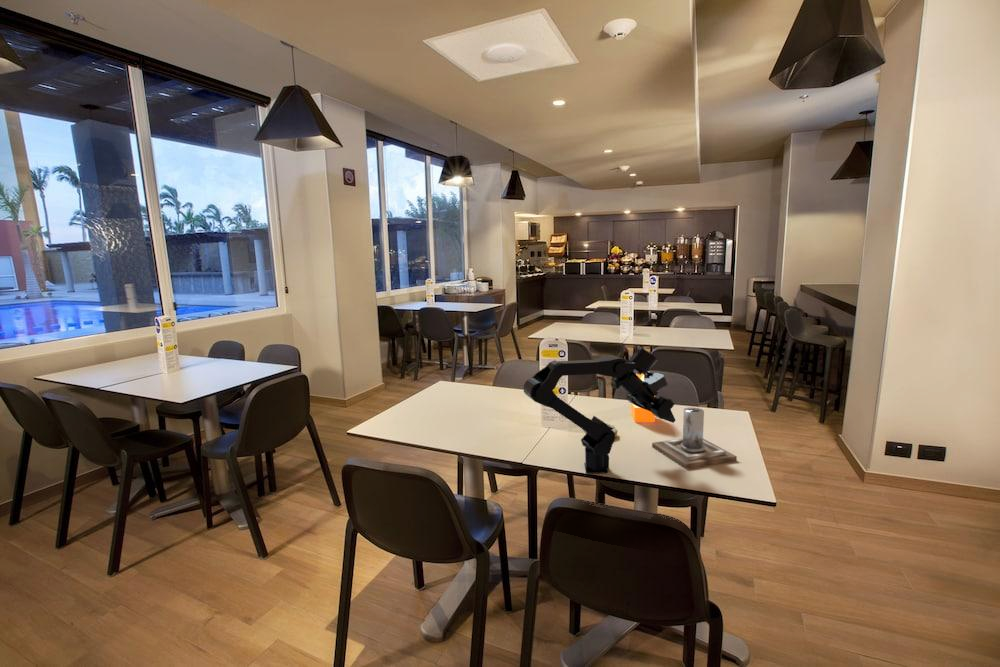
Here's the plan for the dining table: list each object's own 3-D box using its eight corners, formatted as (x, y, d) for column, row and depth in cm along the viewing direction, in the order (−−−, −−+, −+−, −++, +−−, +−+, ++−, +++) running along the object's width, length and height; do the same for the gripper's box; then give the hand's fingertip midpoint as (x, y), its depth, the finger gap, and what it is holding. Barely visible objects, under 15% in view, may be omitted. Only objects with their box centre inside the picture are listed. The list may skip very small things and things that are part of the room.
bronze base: (685, 469, 143) (686, 461, 143) (652, 447, 160) (652, 439, 160) (736, 460, 147) (736, 453, 147) (698, 440, 165) (698, 433, 164)
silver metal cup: (692, 455, 149) (693, 415, 147) (675, 447, 156) (676, 408, 154) (709, 451, 152) (711, 411, 150) (692, 443, 158) (693, 405, 156)
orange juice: (650, 415, 192) (651, 366, 189) (655, 422, 183) (656, 371, 180) (630, 415, 193) (630, 366, 190) (634, 422, 184) (634, 372, 181)
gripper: (669, 372, 136) (701, 405, 141) (634, 360, 154) (664, 389, 159) (644, 402, 136) (677, 434, 140) (612, 386, 154) (642, 415, 158)
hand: (665, 416), depth 149 cm, fingers open, 9 cm apart
